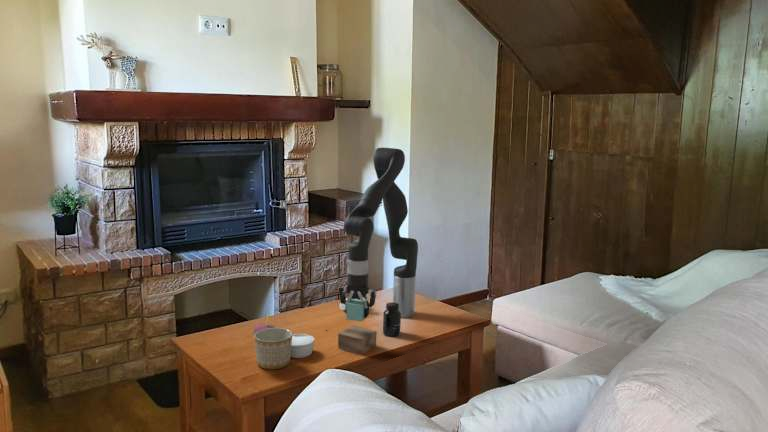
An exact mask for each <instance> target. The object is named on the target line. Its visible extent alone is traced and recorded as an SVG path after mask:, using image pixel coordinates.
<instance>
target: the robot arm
mask: <svg viewBox="0 0 768 432" xmlns="http://www.w3.org/2000/svg"><path fill="white" fill-rule="evenodd" d="M405 161H406V157H405V152H404V151H403V150H402V149H400V148H396V147H395V148H394V147H393V148H392V147H378V148H376V149H375V150H374V153H373V166H374V170H375V173H376V177H377V180H376V181H375V182H373V183H372V184H370V185H369V186H368V187H367V188H366V190H365V191H364V192H363V194H362V195H361V198H360V201H359V203H358V205H356V206H355V207H354V208H353V210H352V211H350V213H349V214H348V215H347V217H345V220H344V222H343V231H344V232H345V234H346V235H349V236H352V237H353V236H354V237H359V240H358V241H353V242H351V243H349V245H348V259H347V260H348V261H347V268H346V274H347V276H346V277H347V278H346V279H347V282H346V283H347V285H346V286H345V285H342V286H340V287H338V292H339V293H338V294H339V301H340V302H341V304H345V306H346V308H347V303H348V302H350V301H351V300H352V299H358V300H361V302H362V303H363V304H364V307H365V308H364V318H365V319H367V318H368V317H369V315H370V308H373V306H374V305H375V304H376V296H377V289H370V288H369V247H370V243H371V238H372V235H373V232H374V228H375V227H374V222H373V220H372V217H374V216H375V215H376V213H377V212H378V209H379V207H380V205H381V203H383V209H384V214H385V218H386V224H387V225H386V226H387V229H388V239H389V240H388V241H389V250H390V255H391V256H392V258H394V259H397V260H405V264H404V265H403V264H402V265H400V266H399V265H398V266H396V267H394V269H393V285H392V286H393V289H392V290H393V292H392V293H393V296H392V302H394V303H398V304H399V309H398V310H399V311H400V312H401V318H412V317H414V316H415V306H416V277H417V276H416V275H417V273H416V272H417V268H418V267H417V266H418V265H417V264H418V254H419V253H418V252H419V244H418V243H419V242H418V240H417V239H416V238H410V237H405V236H404V237H402V236H401V235H400V229H401V226H402V225H403V223H404V222H405V220H406V218H407V216H408V213H409V209H408V203H407V198H406V195H405V193H404V192H403V191H402V190H401V188H400V186H398V184H396V183H395V181H396V179H397V178H398V176H399V175H400V174H401V172H402V170H403V168H404V167H405V163H406V162H405ZM346 292H347V294H348V296H347V300H346ZM368 294H369V296H370V297H369V298H368V296H367V295H368ZM340 302H339V303H340ZM344 311H345V314H346V310H344ZM367 316H368V317H367Z"/></svg>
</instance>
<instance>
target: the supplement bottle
mask: <svg viewBox="0 0 768 432" xmlns="http://www.w3.org/2000/svg"><path fill="white" fill-rule="evenodd" d="M385 304H386V305H385V310H384V311H383V315H382V316H383V317H382V334H383V335H384V336H385V337H398V336H399V335H400V334H401V324H402V323H401V312H400V311H399V310H398V309H399V304H398V303H394V302H393V301H392V302H391V301H390V302H386V303H385Z"/></svg>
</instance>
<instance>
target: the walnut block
mask: <svg viewBox="0 0 768 432" xmlns="http://www.w3.org/2000/svg"><path fill="white" fill-rule="evenodd" d="M377 333H378V332H377V330H373V329H369V328H366V327H363V326H357V325H354V324H353V325H352V326H350V327H348V328H346V329H345V330H343V331H342V330H341V332H338V334H337V337H338V338H337V339H338V340H337V344H338V345H337V346H338V348H337V349H338V350H342V351H346V352H349V353H352V354H357V355H360V356H362V355H364V354H365V353H367V352H368V351H370V350H372V349H374V348H375V347H377Z"/></svg>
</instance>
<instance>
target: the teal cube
mask: <svg viewBox="0 0 768 432" xmlns="http://www.w3.org/2000/svg"><path fill="white" fill-rule="evenodd" d="M364 308H365V307H364V304H363V303H362V302H361V300H358V299H352V300H351V301H350V302H348V303H347V308H346V313H345V314H346V316H345V317H346V319H345V320H347V321H355V322H361V323H362V322H363V321H364V320H366V318H364ZM368 317H369V316H367V318H368Z"/></svg>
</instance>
